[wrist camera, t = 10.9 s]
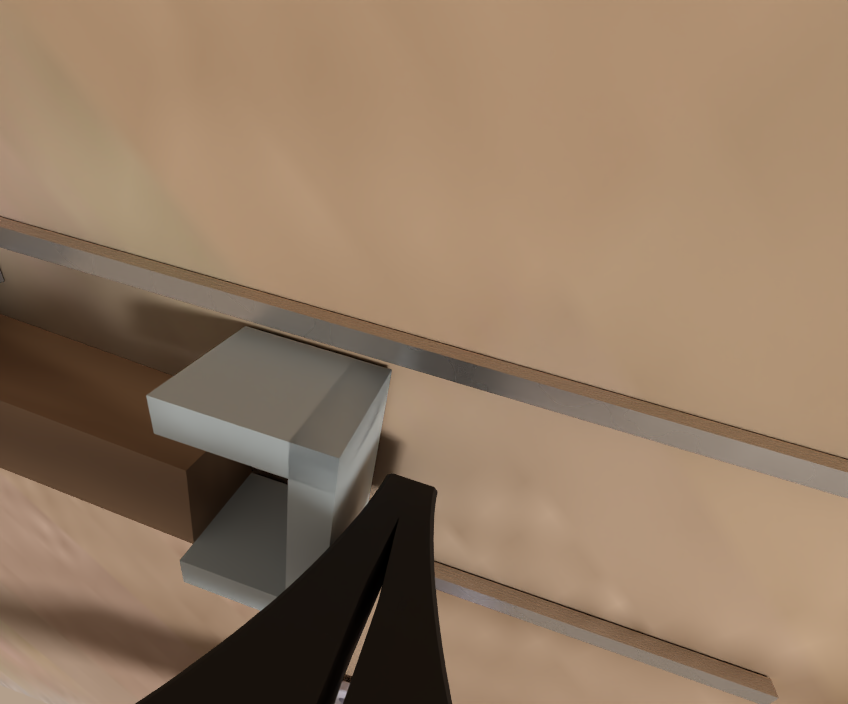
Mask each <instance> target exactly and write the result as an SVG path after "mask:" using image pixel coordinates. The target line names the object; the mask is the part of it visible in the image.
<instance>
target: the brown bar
mask: <svg viewBox="0 0 848 704" xmlns="http://www.w3.org/2000/svg"><path fill="white" fill-rule="evenodd" d="M172 377H173V376H172V375H169V374H167V373H164V372H161V371H158V370H155V369H153V368H150V367H147V366H144V365H141V364H139V363H136V362H133V361H130V360H128V359H125V358H122V357H119V356H116V355H114V354H111V353H108V352H105V351H102V350H100V349H97V348H94V347H91V346H88V345H86V344H83V343H80V342H77V341H74V340H72V339H69V338H66V337H63V336H60V335H58V334H55V333H52V332H49V331H46V330H44V329H41V328H38V327H35V326H32V325H30V324H27V323H24V322H21V321H18V320H16V319H13V318H10V317H7V316H4V315H2V314H0V468H3V469H5V470H8V471H10V472H13V473H15V474H18V475H20V476H23V477H25V478H28V479H30V480H33V481H36V482H38V483H41V484H43V485H46V486H48V487H51V488H53V489H56V490H58V491H61V492H63V493H66V494H68V495H71V496H73V497H76V498H79V499H81V500H84V501H86V502H89V503H91V504H94V505H96V506H99V507H101V508H104V509H106V510H109V511H111V512H114V513H116V514H119V515H121V516H124V517H127V518H129V519H132V520H134V521H137V522H139V523H142V524H144V525H147V526H149V527H152V528H154V529H157V530H159V531H162V532H164V533H167V534H169V535H172V536H175V537H177V538H180V539H182V540H185V541H187V542H190V543H192V544H194V542H195V541H196V540H197V539H198V537H199V536H200V535H201V534H202V533H203V531H204V530H205V529H206V528H207V526H208V525H209V524H210V523H211V522H212V520H213V519H214V518H215V517H216V515H217V514H218V513H219V512H220V511H221V509H222V508H223V507H224V506H225V504H226V503H227V502H228V501H229V500H230V498H231V497H232V496H233V495H234V493H235V492H236V491H237V490H238V489H239V487H240V486H241V485H242V484H243V482H244V481H245V480H246V479H247V478H248V476H249V475H250V474H251V473H252V466H249V465H246V464H243V463H240V462H237V461H234V460H231V459H228V458H225V457H222V456H219V455H216V454H213V453H210V452H207V451H204V450H201V449H198V448H195V447H192V446H189V445H186V444H183V443H181V442H178V441H175V440H172V439H169V438H166V437H163V436H160V435H157V434H154V432H153V427H152V422H151V417H150V412H149V407H148V402H147V397H146V395H147V394H149V393H150V392H152V391H153V390H154V389H156V388H157V387H159V386H160V385H162V384H163V383H164V382H166V381H167V380H169V379H170V378H172Z"/></svg>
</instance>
